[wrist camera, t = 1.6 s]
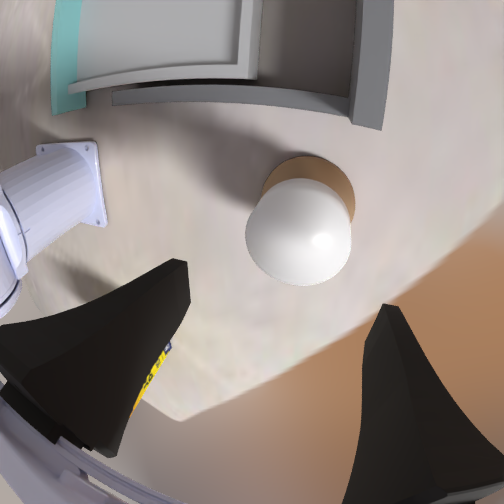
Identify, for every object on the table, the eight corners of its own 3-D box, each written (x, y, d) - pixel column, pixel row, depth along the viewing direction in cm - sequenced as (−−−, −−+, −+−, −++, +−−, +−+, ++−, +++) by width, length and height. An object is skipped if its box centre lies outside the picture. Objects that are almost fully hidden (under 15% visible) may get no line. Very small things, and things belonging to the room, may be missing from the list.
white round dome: (252, 255, 17) (242, 274, 16) (259, 170, 15) (248, 182, 13) (338, 272, 16) (337, 294, 15) (359, 189, 14) (362, 203, 12)
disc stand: (260, 232, 21) (246, 259, 18) (267, 149, 17) (252, 162, 14) (344, 249, 19) (343, 279, 17) (363, 166, 16) (368, 183, 13)
